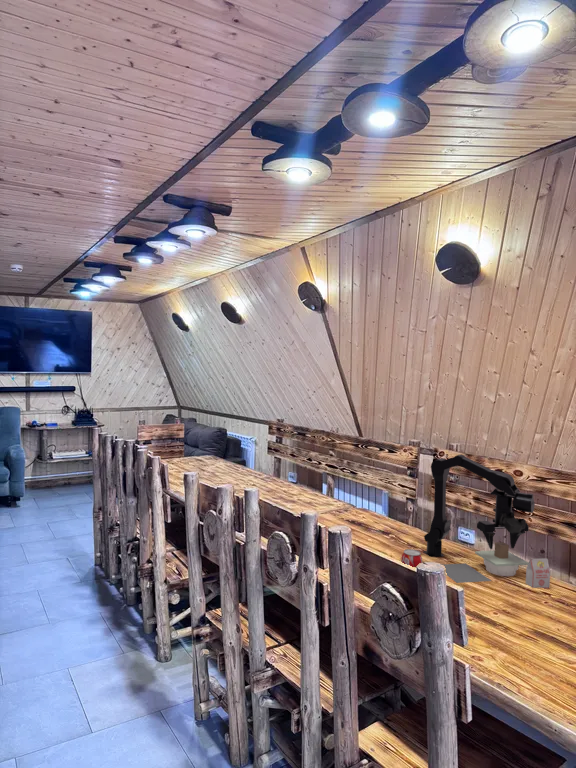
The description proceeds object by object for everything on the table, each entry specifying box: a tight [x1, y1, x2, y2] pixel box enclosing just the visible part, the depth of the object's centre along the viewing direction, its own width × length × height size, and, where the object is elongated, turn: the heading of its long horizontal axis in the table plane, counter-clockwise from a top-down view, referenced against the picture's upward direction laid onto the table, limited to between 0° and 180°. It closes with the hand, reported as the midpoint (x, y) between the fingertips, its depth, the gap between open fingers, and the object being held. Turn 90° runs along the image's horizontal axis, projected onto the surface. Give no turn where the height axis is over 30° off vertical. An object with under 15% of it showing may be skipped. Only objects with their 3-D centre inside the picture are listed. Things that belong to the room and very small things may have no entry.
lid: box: [474, 541, 529, 566], centre depth 194 cm, size 14×14×6 cm
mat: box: [441, 562, 492, 584], centre depth 191 cm, size 17×14×1 cm
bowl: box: [483, 559, 520, 577], centre depth 194 cm, size 12×12×5 cm
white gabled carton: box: [525, 558, 551, 590], centre depth 182 cm, size 4×7×10 cm, turn 99°
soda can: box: [400, 548, 423, 567], centre depth 177 cm, size 7×7×12 cm
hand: (501, 548), depth 194 cm, fingers open, 9 cm apart
